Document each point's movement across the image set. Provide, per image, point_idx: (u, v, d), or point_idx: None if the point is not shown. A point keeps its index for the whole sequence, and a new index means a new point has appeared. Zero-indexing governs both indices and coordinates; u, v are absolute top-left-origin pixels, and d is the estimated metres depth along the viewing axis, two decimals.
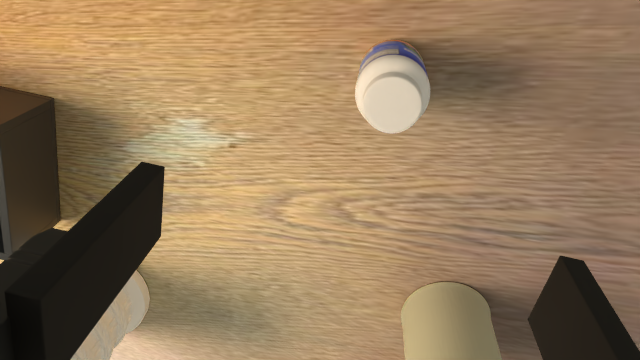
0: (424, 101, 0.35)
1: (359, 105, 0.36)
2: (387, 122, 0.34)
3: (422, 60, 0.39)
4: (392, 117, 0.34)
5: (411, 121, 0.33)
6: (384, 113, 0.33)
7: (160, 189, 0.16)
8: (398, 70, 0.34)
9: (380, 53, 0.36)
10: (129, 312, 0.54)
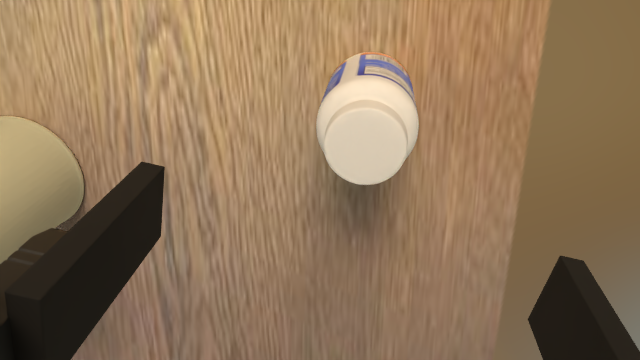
0: None
1: (352, 87, 0.25)
2: (340, 142, 0.24)
3: None
4: (348, 148, 0.24)
5: (342, 173, 0.24)
6: (353, 138, 0.23)
7: (159, 189, 0.16)
8: None
9: None
10: None
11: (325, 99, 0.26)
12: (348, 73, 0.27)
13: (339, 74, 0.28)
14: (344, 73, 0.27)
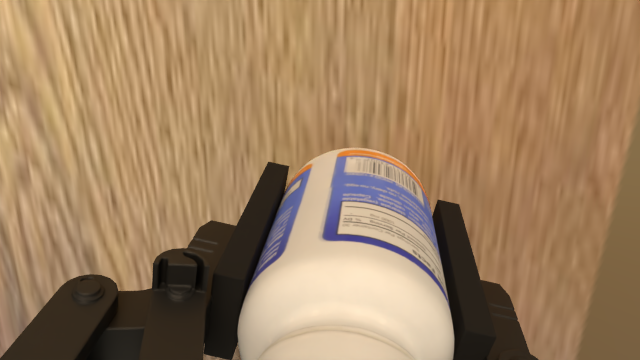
0: None
1: (308, 279, 0.11)
2: None
3: None
4: None
5: None
6: None
7: (284, 186, 0.18)
8: None
9: (443, 278, 0.13)
10: None
11: (253, 292, 0.12)
12: (307, 220, 0.13)
13: (292, 210, 0.14)
14: (300, 215, 0.14)
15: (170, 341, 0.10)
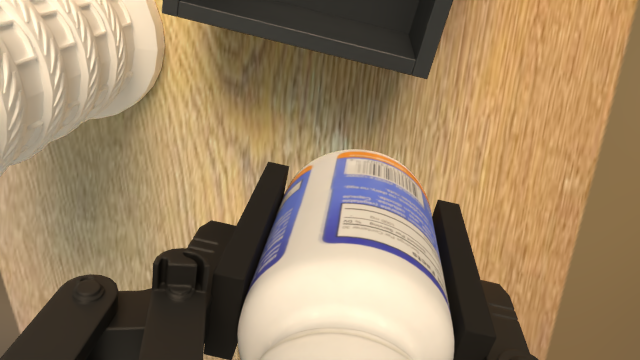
0: None
1: (308, 281, 0.11)
2: None
3: None
4: None
5: None
6: None
7: (284, 186, 0.18)
8: None
9: (443, 280, 0.13)
10: None
11: (253, 294, 0.12)
12: (307, 222, 0.13)
13: (292, 212, 0.14)
14: (300, 217, 0.14)
15: (170, 341, 0.10)
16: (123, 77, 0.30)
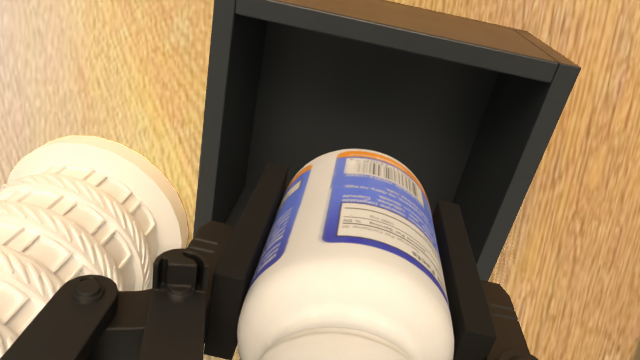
0: None
1: (308, 281, 0.11)
2: None
3: None
4: None
5: None
6: None
7: (284, 186, 0.18)
8: None
9: (443, 279, 0.13)
10: None
11: (252, 293, 0.12)
12: (306, 221, 0.13)
13: (292, 211, 0.14)
14: (299, 216, 0.14)
15: (170, 341, 0.10)
16: (148, 284, 0.29)
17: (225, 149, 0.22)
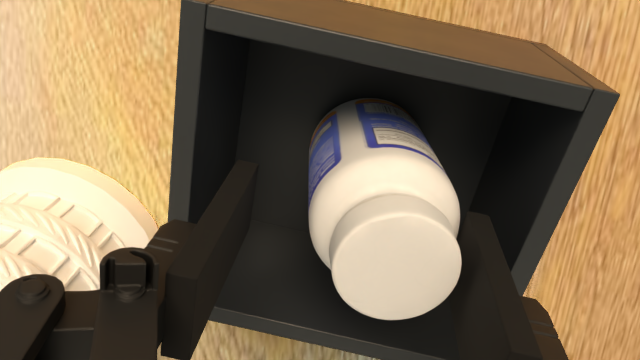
0: None
1: (366, 170, 0.16)
2: (358, 264, 0.15)
3: None
4: (371, 272, 0.15)
5: (361, 306, 0.16)
6: (379, 257, 0.15)
7: (254, 184, 0.17)
8: None
9: None
10: None
11: (323, 186, 0.17)
12: (350, 140, 0.18)
13: (333, 138, 0.19)
14: (343, 139, 0.19)
15: (121, 342, 0.10)
16: None
17: (199, 183, 0.19)
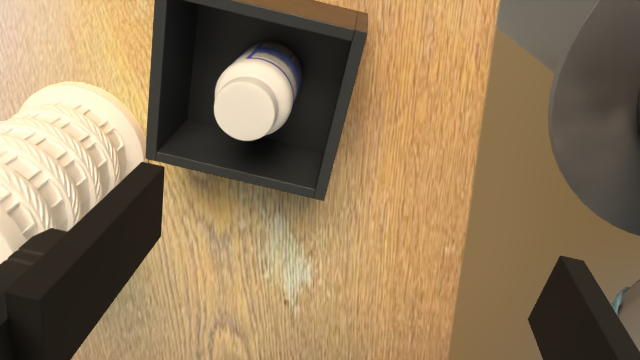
0: None
1: (239, 67, 0.33)
2: (225, 107, 0.32)
3: None
4: (231, 112, 0.32)
5: (228, 131, 0.32)
6: (234, 104, 0.31)
7: (160, 189, 0.16)
8: (278, 109, 0.33)
9: (292, 81, 0.35)
10: None
11: (220, 76, 0.34)
12: (241, 57, 0.35)
13: (237, 58, 0.36)
14: (240, 57, 0.35)
15: None
16: None
17: (166, 83, 0.35)
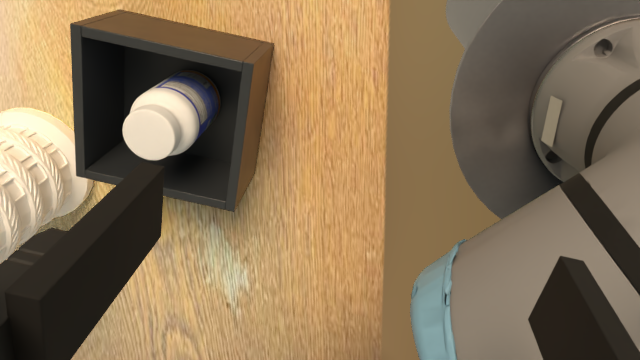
0: None
1: (147, 95, 0.37)
2: (132, 131, 0.36)
3: None
4: (137, 135, 0.36)
5: (137, 152, 0.37)
6: (139, 129, 0.36)
7: (160, 189, 0.16)
8: (183, 131, 0.38)
9: (200, 106, 0.40)
10: None
11: (133, 103, 0.38)
12: (155, 86, 0.39)
13: None
14: None
15: None
16: (62, 200, 0.47)
17: (90, 109, 0.40)
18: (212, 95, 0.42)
